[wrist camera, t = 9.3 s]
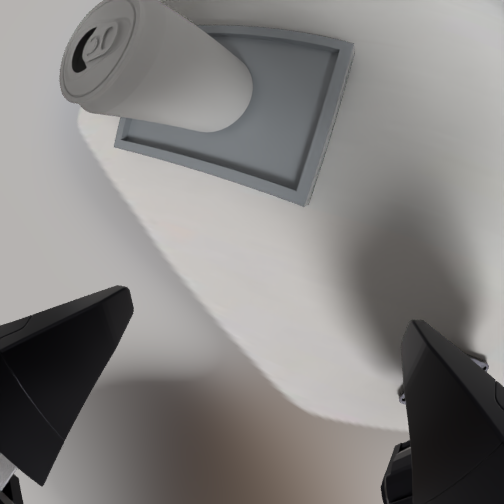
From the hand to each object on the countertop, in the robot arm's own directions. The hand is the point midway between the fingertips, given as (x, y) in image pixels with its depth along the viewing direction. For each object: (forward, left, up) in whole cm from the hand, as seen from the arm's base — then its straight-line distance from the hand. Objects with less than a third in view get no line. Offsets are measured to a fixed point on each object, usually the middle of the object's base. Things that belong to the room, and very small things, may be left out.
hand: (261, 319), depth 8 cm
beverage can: (+11, -8, -12) cm, 18 cm away
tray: (+11, -8, -13) cm, 18 cm away
